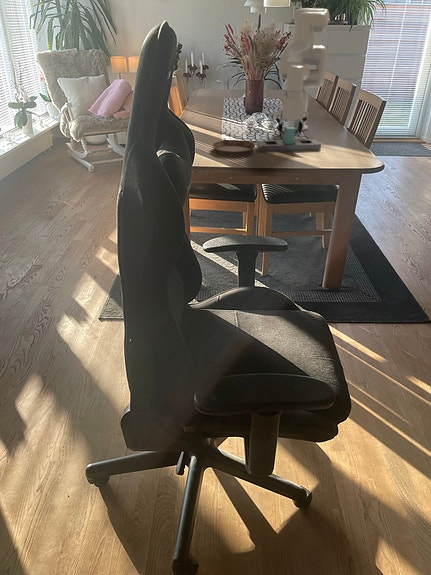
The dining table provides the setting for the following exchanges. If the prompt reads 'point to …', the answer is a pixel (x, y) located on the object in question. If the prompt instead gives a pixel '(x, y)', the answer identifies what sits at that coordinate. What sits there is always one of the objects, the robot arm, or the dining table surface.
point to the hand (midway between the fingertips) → (289, 131)
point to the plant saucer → (233, 147)
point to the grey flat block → (288, 145)
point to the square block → (289, 135)
